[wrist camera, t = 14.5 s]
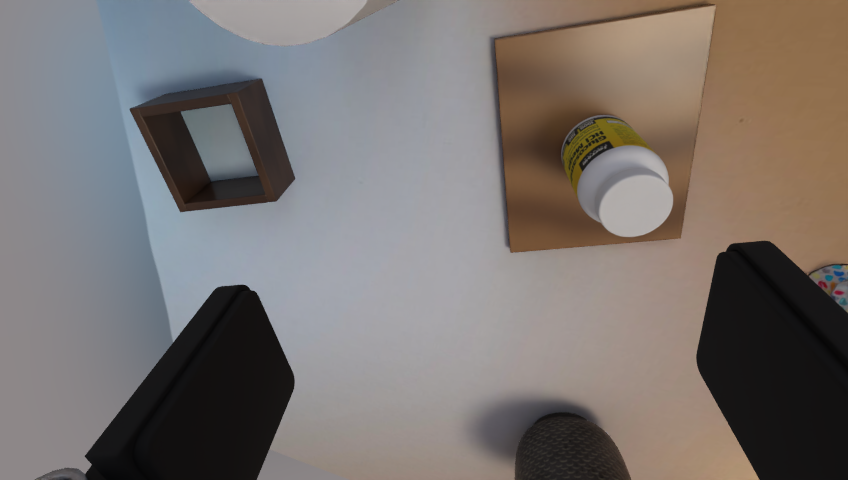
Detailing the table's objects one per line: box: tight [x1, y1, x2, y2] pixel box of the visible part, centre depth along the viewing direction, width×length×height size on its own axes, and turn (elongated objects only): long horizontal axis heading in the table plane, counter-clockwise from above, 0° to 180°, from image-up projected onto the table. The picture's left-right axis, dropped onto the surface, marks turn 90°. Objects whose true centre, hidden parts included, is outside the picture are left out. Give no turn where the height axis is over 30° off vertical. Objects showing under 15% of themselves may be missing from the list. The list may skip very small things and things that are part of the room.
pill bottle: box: [561, 115, 673, 237], centre depth 34 cm, size 6×6×11 cm
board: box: [494, 4, 717, 253], centre depth 39 cm, size 20×16×1 cm
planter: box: [515, 413, 631, 480], centre depth 55 cm, size 14×14×13 cm
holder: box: [130, 79, 295, 212], centre depth 40 cm, size 10×10×5 cm
